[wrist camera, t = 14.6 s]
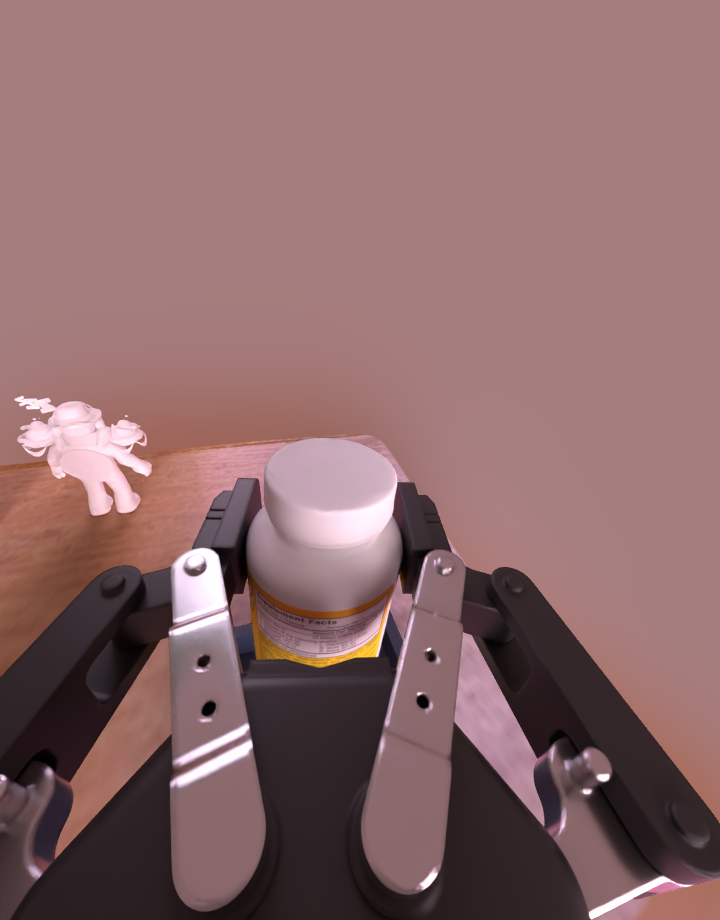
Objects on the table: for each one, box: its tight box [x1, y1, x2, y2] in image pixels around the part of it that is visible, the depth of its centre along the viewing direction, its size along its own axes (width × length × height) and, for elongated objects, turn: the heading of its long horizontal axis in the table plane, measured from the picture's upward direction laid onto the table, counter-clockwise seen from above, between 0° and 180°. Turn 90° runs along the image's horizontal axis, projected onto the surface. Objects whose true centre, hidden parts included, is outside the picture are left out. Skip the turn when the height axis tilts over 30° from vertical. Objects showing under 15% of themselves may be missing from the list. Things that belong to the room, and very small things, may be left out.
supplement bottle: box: [246, 438, 403, 668], centre depth 13 cm, size 5×5×10 cm
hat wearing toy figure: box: [15, 396, 152, 516], centre depth 30 cm, size 9×4×12 cm, turn 100°
